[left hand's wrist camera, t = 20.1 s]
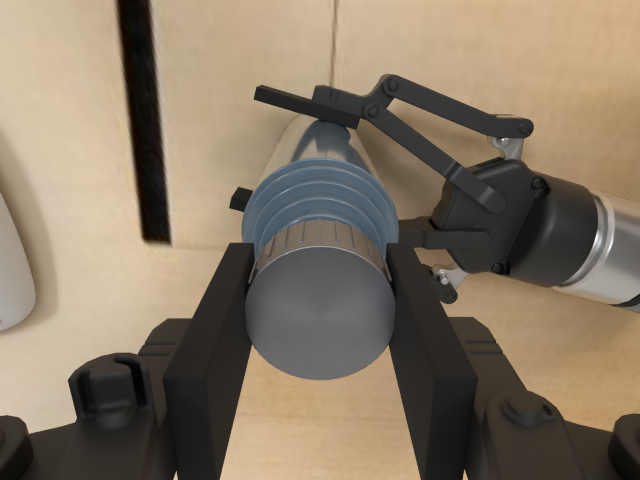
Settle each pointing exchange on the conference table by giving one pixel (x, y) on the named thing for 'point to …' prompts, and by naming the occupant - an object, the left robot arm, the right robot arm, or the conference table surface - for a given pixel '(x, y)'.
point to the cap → (320, 301)
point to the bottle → (319, 186)
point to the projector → (13, 274)
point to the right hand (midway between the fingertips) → (246, 146)
